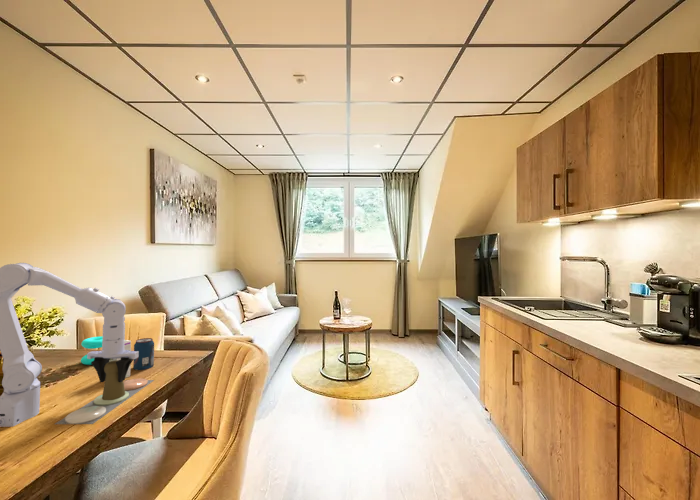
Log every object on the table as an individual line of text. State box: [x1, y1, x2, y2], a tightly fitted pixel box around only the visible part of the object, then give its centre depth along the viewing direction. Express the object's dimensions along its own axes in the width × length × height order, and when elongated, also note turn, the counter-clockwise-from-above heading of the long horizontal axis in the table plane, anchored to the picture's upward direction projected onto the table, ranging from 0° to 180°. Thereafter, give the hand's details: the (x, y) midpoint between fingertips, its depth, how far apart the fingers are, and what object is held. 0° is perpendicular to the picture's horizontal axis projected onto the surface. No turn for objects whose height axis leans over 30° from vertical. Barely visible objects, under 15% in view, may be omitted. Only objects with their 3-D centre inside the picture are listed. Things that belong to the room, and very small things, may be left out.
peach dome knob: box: [124, 378, 149, 391], centre depth 112 cm, size 9×9×1 cm
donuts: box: [80, 335, 103, 366], centre depth 137 cm, size 10×10×10 cm
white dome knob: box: [64, 406, 106, 425], centre depth 91 cm, size 9×9×1 cm
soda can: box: [132, 337, 155, 371], centre depth 130 cm, size 7×7×12 cm
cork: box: [101, 360, 125, 400], centre depth 102 cm, size 6×6×11 cm
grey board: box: [54, 379, 155, 425], centre depth 101 cm, size 30×10×1 cm, turn 3°
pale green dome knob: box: [93, 391, 129, 406], centre depth 101 cm, size 9×9×1 cm
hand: (112, 381), depth 101 cm, fingers open, 5 cm apart
